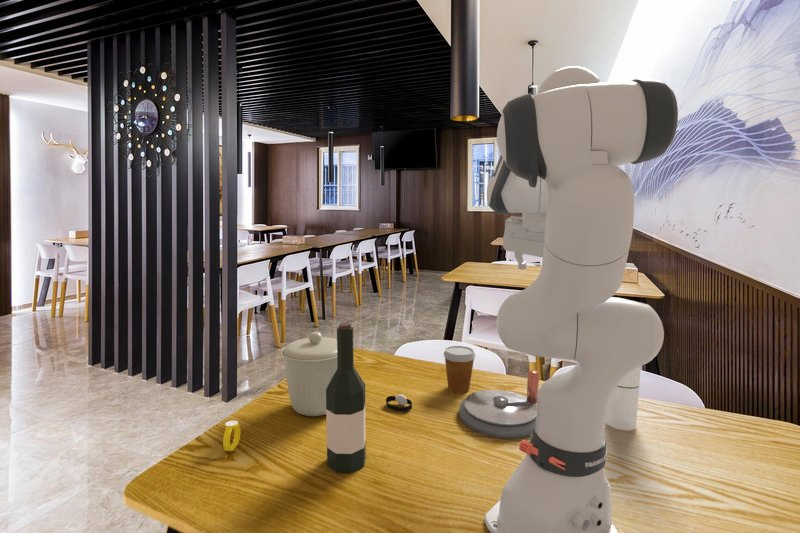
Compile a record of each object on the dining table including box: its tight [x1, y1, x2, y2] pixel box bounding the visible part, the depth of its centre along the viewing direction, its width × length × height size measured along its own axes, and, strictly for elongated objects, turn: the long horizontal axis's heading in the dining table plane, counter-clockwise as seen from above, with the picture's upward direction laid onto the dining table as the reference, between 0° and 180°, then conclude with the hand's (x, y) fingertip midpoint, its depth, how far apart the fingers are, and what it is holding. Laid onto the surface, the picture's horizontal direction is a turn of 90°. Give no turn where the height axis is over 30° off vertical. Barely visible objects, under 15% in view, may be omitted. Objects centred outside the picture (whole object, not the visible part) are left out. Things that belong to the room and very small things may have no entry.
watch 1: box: [222, 420, 242, 452], centre depth 96 cm, size 6×3×6 cm, turn 177°
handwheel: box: [464, 369, 540, 427], centre depth 110 cm, size 19×18×10 cm
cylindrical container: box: [605, 366, 642, 431], centre depth 106 cm, size 7×7×25 cm
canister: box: [280, 331, 337, 417], centre depth 114 cm, size 18×18×21 cm
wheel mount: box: [459, 398, 536, 440], centre depth 110 cm, size 21×21×2 cm
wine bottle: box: [325, 322, 367, 474], centre depth 89 cm, size 8×8×30 cm
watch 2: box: [385, 393, 413, 413], centre depth 116 cm, size 8×5×4 cm, turn 62°
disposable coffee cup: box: [443, 345, 476, 394], centre depth 128 cm, size 10×10×12 cm
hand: (537, 272), depth 110 cm, fingers open, 8 cm apart
